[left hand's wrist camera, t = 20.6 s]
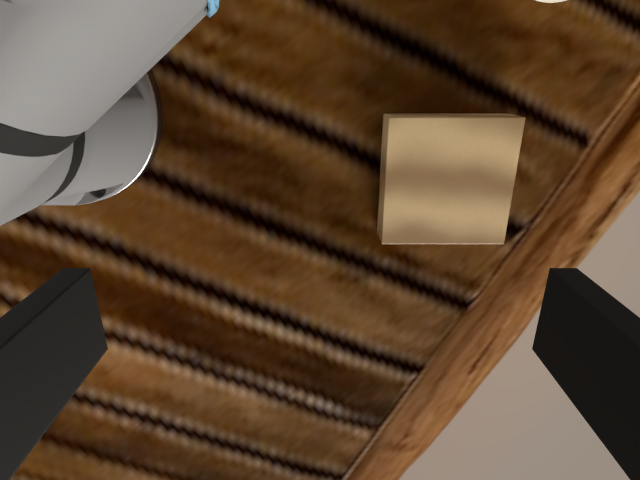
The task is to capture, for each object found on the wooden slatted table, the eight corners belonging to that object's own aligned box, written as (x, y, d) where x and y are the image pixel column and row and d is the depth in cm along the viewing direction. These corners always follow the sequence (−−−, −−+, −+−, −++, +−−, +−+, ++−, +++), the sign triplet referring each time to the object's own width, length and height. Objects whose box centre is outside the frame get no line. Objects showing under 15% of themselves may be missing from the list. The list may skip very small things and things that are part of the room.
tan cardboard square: (490, 231, 38) (504, 244, 35) (377, 231, 38) (381, 244, 35) (509, 113, 34) (525, 117, 32) (383, 113, 34) (388, 117, 32)
